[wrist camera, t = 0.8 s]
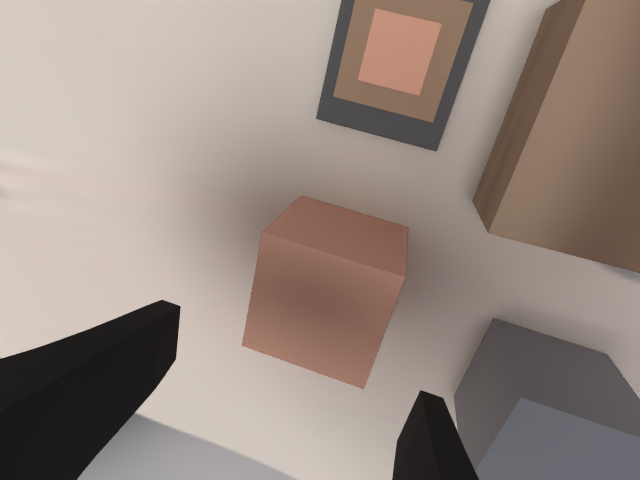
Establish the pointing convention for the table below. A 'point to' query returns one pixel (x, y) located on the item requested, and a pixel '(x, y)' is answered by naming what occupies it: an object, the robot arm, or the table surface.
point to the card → (399, 66)
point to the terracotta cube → (326, 289)
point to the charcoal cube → (546, 410)
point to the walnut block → (573, 138)
